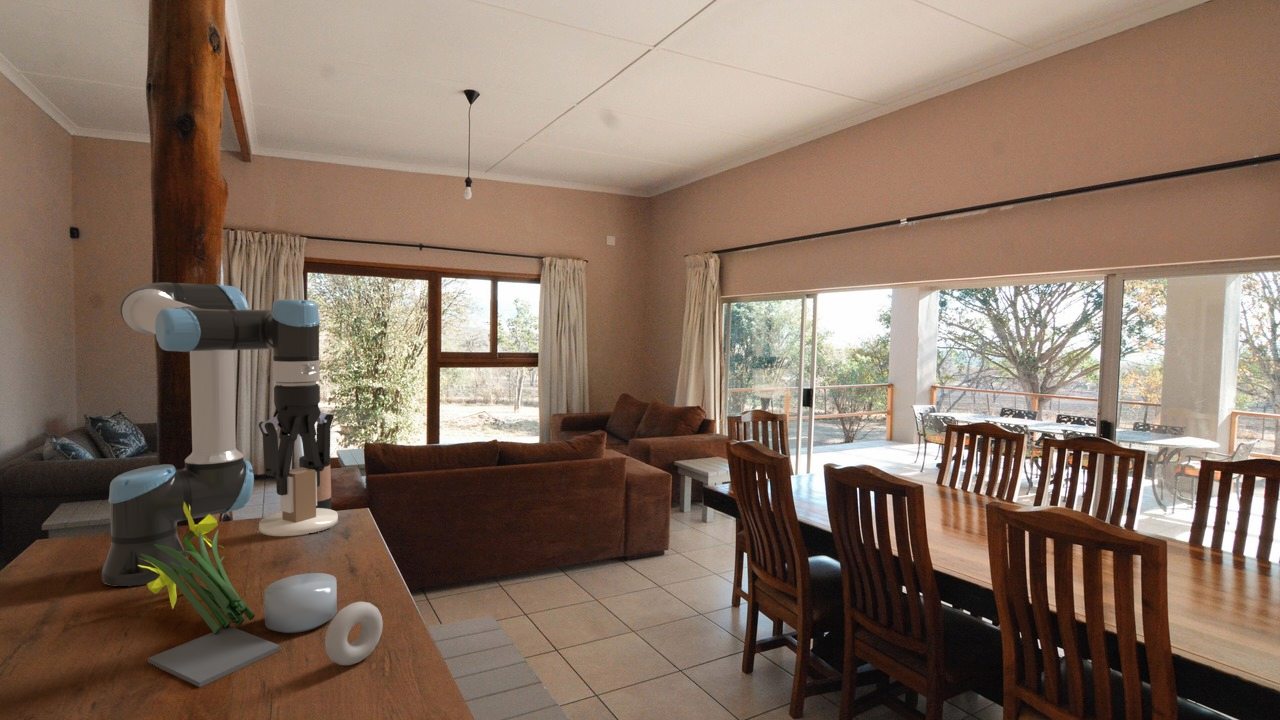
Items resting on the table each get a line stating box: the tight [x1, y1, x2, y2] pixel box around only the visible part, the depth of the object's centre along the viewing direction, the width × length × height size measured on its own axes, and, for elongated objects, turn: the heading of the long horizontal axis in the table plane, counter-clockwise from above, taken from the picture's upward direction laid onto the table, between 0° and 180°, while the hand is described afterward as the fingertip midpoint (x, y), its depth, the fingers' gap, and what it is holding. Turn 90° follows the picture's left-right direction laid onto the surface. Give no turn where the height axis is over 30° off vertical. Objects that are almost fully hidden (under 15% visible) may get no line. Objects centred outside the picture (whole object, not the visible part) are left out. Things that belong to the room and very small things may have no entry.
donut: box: [324, 601, 384, 666], centre depth 107 cm, size 10×4×10 cm, turn 148°
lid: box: [258, 467, 339, 537], centre depth 120 cm, size 13×13×10 cm
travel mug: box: [298, 455, 332, 534], centre depth 174 cm, size 8×8×20 cm
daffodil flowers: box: [138, 502, 256, 635], centre depth 126 cm, size 17×15×35 cm
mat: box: [147, 625, 281, 688], centre depth 109 cm, size 15×13×1 cm
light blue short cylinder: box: [263, 572, 338, 634], centre depth 121 cm, size 12×12×7 cm
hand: (299, 507), depth 120 cm, fingers closed on lid, 4 cm apart
